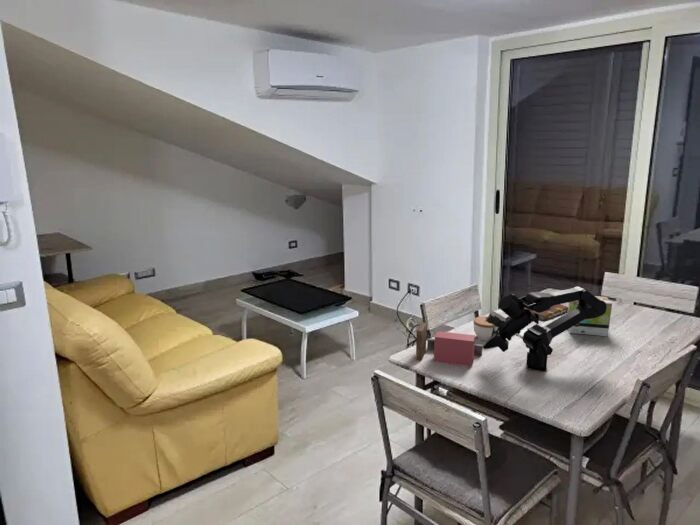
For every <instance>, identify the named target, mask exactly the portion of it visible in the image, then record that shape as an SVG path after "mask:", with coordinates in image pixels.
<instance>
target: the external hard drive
mask: <svg viewBox="0 0 700 525" xmlns="http://www.w3.org/2000/svg"><path fill="white" fill-rule="evenodd" d="M527 329H528V327H527V326H526V327H525V328H524V329H522V330H521V333H519V334H515V335H516V336H518V337H519V338H521V339H523V335H524V333H525V332H526V331H527ZM515 335H514V336H515Z"/></svg>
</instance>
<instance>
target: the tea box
mask: <svg viewBox="0 0 700 525" xmlns="http://www.w3.org/2000/svg"><path fill="white" fill-rule="evenodd" d="M594 296H595V297H596V298H598V299H600V300H602V301H604V302H605V303H606V305H607V309H606V312H605V314H603V315H602V316H599V317H597V318H592V319H585V320H583V321H581V322H579V323H578V324H576V325H574V326H573V327H571V328H569V329H567V330H568V332H569V333H570V334H581V335H589V336H591V335H592V336H601V337H608V335H609V331H610V323H611V322H610V321H611V317H612V316H611V314H612V307H613V304H612V302H611V301H610V299H609V298H608V297H607V296H598V295H594ZM578 303H579V301H573V302H568V306H567V307H568V311H567V313H569V312H570V311H572V310H574V309H576V308H577V306H578Z"/></svg>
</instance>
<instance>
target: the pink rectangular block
mask: <svg viewBox="0 0 700 525" xmlns="http://www.w3.org/2000/svg"><path fill="white" fill-rule="evenodd" d="M434 339H435V342H434V350H433V362H434V363H442V364H448V365H449V364H451V365H458V366H465V367H473V364H474V361H475V355H474V348H475V344H476V343H475V342H476V334H467V333H457V332H447V331H439V330H437V331H436V333H435V335H434Z"/></svg>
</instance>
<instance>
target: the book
mask: <svg viewBox="0 0 700 525" xmlns="http://www.w3.org/2000/svg"><path fill="white" fill-rule="evenodd" d="M524 309H527V308H524ZM530 311H531V310H530ZM531 312H532V313H534V314H538V315H539V321H546V320H550V319H554V317H556V316H561V315H562V316H563V314H564V313H568V306H567V305H564V304H558V305H554V306H552V307H551V308H550V309H549V310H546V311H544V312H541V313H538V312H535V311H531Z"/></svg>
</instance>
